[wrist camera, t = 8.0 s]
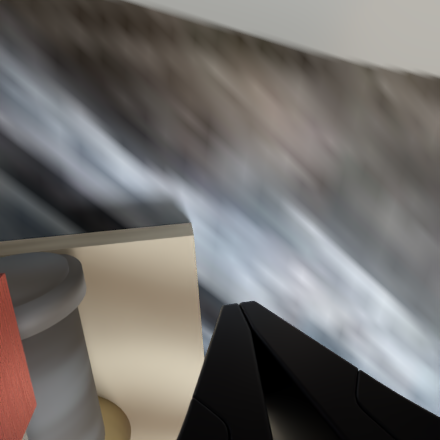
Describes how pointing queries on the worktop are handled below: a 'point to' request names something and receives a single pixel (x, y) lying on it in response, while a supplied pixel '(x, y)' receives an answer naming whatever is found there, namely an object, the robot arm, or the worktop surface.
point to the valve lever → (13, 374)
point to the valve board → (108, 330)
